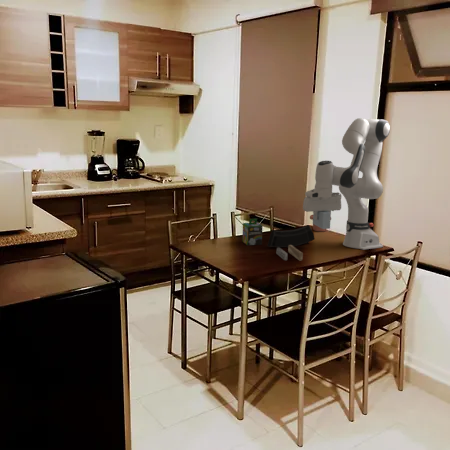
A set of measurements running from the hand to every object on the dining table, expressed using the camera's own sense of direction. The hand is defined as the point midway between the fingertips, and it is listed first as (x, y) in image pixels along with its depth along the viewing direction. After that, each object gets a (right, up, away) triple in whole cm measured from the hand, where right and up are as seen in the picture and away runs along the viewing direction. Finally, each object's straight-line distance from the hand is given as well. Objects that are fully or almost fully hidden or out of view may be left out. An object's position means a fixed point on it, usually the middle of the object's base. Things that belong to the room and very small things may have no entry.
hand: (321, 219), depth 243 cm
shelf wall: (-13, -19, +4) cm, 24 cm away
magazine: (-12, -15, +25) cm, 31 cm away
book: (0, -4, +1) cm, 4 cm away
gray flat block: (-20, -20, +2) cm, 28 cm away
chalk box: (-34, -14, +28) cm, 47 cm away
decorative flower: (+12, -7, +63) cm, 64 cm away
